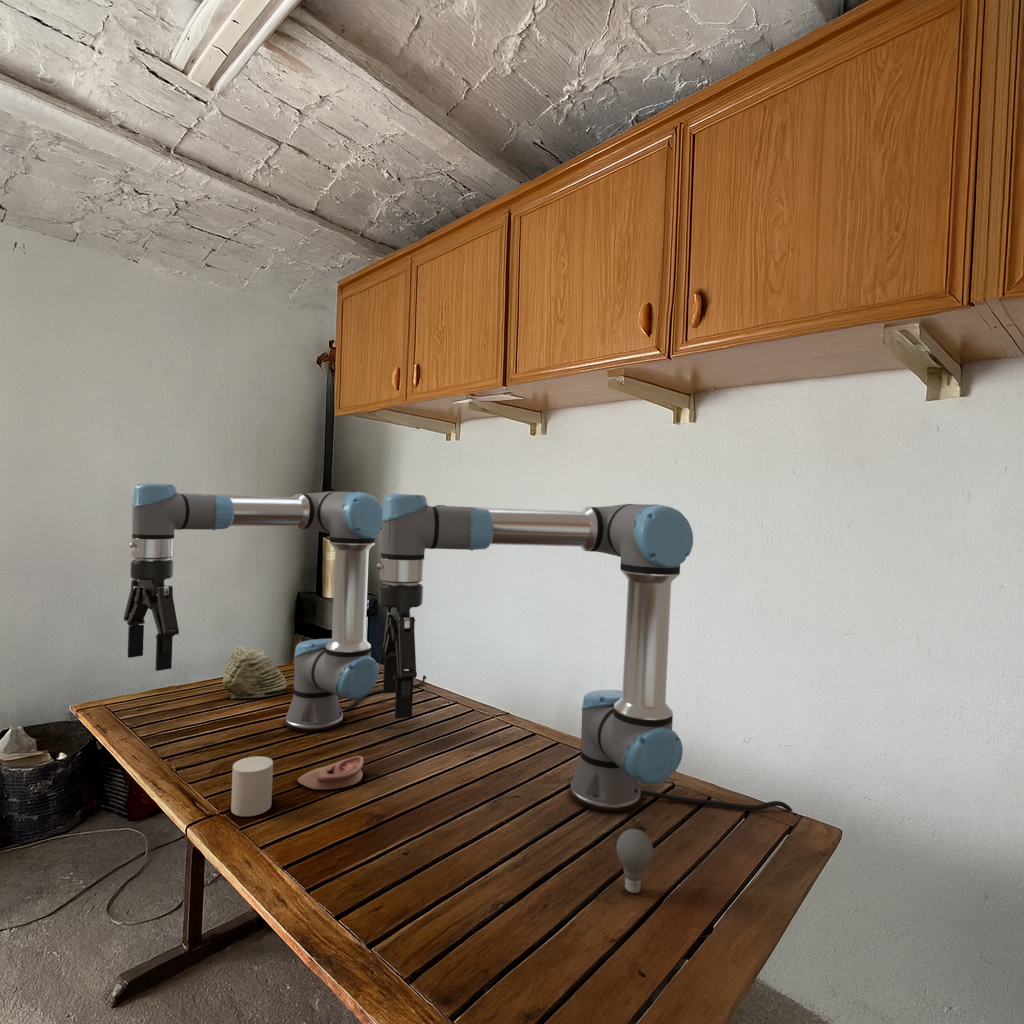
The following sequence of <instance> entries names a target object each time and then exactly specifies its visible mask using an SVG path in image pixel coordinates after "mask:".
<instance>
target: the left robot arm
mask: <svg viewBox="0 0 1024 1024" xmlns="http://www.w3.org/2000/svg"><path fill="white" fill-rule="evenodd" d="M131 508H132V511H131V512H132V515H131V518H132V519H131V520H132V522H131V523H132V524H131V529H132V530H131V534H132V535H131V543H129V545H128V547H129V548H130V549H131V554H130V555H131V558H133V559H132V560H131V561H130V573H129V574H130V578H131V582H130V590H129V591H130V592H129V595H128V599H127V603H126V607H125V610H124V615H123V621H124V622H126V624H127V626H128V629H127V630H128V631H127V658H128V659H131V658H139V657H143V656H144V639H145V638H144V635H145V633H144V632H145V625H144V624H146V621H145V617H146V615H147V612H148V611H149V610H151V613H152V616H153V620H154V623H155V626H156V630H157V634H156V635H155V637H154V638H155V639H156V641H155V669H154V670H155V671H156V672H160V671H166V670H171V669H172V667H173V666H172V664H173V663H172V661H173V638H174V637H175V636H177V635H179V633H180V630H179V629H180V628H179V624H178V618H177V613H176V607H175V606H176V605H175V601H174V588H173V585H166V584H165V580H168V579H171V578H172V577H173V575H174V561H173V560H172V558H173V557H174V556H175V530H176V531H181V530H194V531H195V530H201V531H202V530H208V531H209V530H213V531H216V530H225V529H229V528H230V527H234V526H235V527H236V526H237V527H238V526H239V527H243V526H245V527H250V526H251V527H252V526H256V527H259V526H261V527H263V526H265V527H266V526H268V527H269V526H274V527H275V526H276V527H277V526H279V527H280V526H281V527H284V526H285V527H290V526H291V527H293V528H294V529H296V530H308V531H309V530H310V531H316V532H319V533H325V534H329V544H330V545H331V546H332V547H333V548H334V550H335V552H334V555H335V556H334V577H333V599H332V600H333V601H332V602H333V603H332V627H331V628H332V629H331V638H317V639H308V640H304V641H300V642H299V643H297V645H296V646H295V650H294V655H293V657H294V672H293V673H294V674H293V695H292V696H293V697H292V699H291V702H290V704H289V708H288V711H287V713H286V715H285V726H286V728H287V729H289V730H291V731H294V732H295V731H296V732H301V733H316V732H325V731H329V730H332V729H335V728H337V727H339V726H340V725H342V723H343V722H344V713H343V710H349V709H351V708H353V707H354V706H355V705H356V704H357V703H358V702H359V701H360V700H362V699H365V698H367V697H368V696H371V695H375V694H379V693H383V688H381V689H378V690H372V689H374V687H375V685H376V683H377V682H378V678H379V674H380V670H379V669H380V668H379V665H378V662H377V661H376V660H375V659H374V657H372V656H371V655H372V653H371V652H372V644H371V643H370V642H369V641H368V640H367V639H366V631H367V607H368V606H367V605H368V604H367V603H368V583H369V581H368V579H369V555H370V550H371V548H372V547H374V545H376V537H377V536H378V535H380V534H381V529H382V521H381V519H382V515H383V505H382V503H381V502H380V501H379V500H378V498H377V497H375V495H373V494H370V493H367V492H363V491H362V492H361V491H337V490H336V491H335V490H333V491H332V490H331V491H321V492H311V493H296V494H294V495H293V496H276V495H275V496H274V495H273V496H271V495H245V494H244V495H243V494H242V495H241V494H216V493H215V494H214V493H213V494H211V493H183V492H181V493H180V492H178V491H177V488H176V486H175V485H174V484H170V483H151V482H150V483H148V482H141V483H140V482H139V483H137V484H136V485H135V486H134V488H133V495H132V502H131ZM425 680H427V676H426V675H425V674H424V675H422V680H421V681H420V682H419V683H416V684H415V683H414V684H413V688H416V687H420V686H422V685H423V684H424V683H425ZM371 690H372V691H371ZM339 698H341V699H344V700H348V701H349V700H350V701H353V702H352V703H351V704H349V705H346V706H345V705H341V702H340V699H339Z"/></svg>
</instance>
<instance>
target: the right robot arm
mask: <svg viewBox="0 0 1024 1024" xmlns="http://www.w3.org/2000/svg"><path fill="white" fill-rule="evenodd" d="M427 500H428V499H427V497H426V496H425V495H424V494H407V493H388V494H387V495H385V497H384V499H383V505H382V507H383V515H382V519H381V521H382V529H381V530H380V534H381V536H380V561H381V562H378V563H377V564H376V569H379V580H380V581H381V583H380V584H379V586H378V604H379V606H382V607H384V608H386V609H387V610H386V619H385V620H386V621H385V627H384V636H383V644H382V649H383V655H384V657H383V658H384V659H383V683H382V684H383V685H382V689H383V692H382V693H383V694H394V695H395V696H394V697H395V698H394V719H396V720H397V719H409V718H413V701H414V700H413V698H414V695H413V694H414V687H413V685H414V679H417V675H418V672H417V659H416V657H417V656H416V637H415V635H416V634H415V623H416V618H415V616H411V609H412V608H418V607H420V606H422V605H423V601H424V600H423V599H424V586H423V584H422V582H423V581H424V579H425V562H426V561H425V559H426V558H425V552H426V550H427V549H429V550H463V551H464V550H469V551H471V552H472V551H474V550H475V551H477V550H487V549H488V548H489V547H490V546H493V545H494V546H497V545H498V546H530V547H531V546H533V547H534V546H536V547H537V546H538V547H539V546H540V547H579V548H580V549H581V550H582V551H584V552H593V553H602V554H606V555H611V556H615V557H619V558H620V566H619V567H620V569H619V571H620V572H621V574H622V575H623V576H624V577H625V579H626V580H627V583H626V602H625V603H626V604H625V623H624V624H625V626H624V643H623V645H624V647H623V665H622V666H623V667H622V688H621V689H620V690H618V689H597V690H591V691H589V692H586V694H584V695H583V700H582V707H581V731H580V754H579V762H578V763H577V765H576V768H575V771H574V773H573V774H572V776H571V781H570V791H569V792H570V796H571V798H572V799H573V801H575V802H576V803H578V804H579V805H581V806H583V807H584V808H588V809H590V810H592V811H593V810H594V811H596V812H597V811H598V812H603V813H622V812H627V811H631V810H633V809H635V808H637V807H638V806H639V805H640V802H641V796H645V797H652V798H659V799H663V800H670V801H674V802H680V803H689V804H698V805H706V806H715V807H722V808H727V809H736V810H745V811H760V810H764V809H768V808H771V807H772V808H773V807H781V808H783V809H785V810H786V811H787V812H793V811H794V810H793V809H792V807H791V806H790V805H789V804H787V803H785V802H783V801H781V800H780V801H779V800H773V801H767V802H764V803H760V804H743V803H742V804H741V803H733V802H726V801H719V800H714V799H713V800H712V799H704V798H694V797H686V796H680V795H679V796H678V795H673V794H667V793H662V792H657V791H649V790H644V789H641V787H640V784H639V783H641V784H644V785H656V784H660V783H662V782H664V781H666V780H668V779H669V778H670V777H671V775H672V774H673V773H675V772H676V771H677V769H678V768H679V766H680V764H681V761H682V759H683V752H684V749H683V748H684V747H683V744H682V743H683V742H682V740H681V739H680V737H679V735H678V733H677V732H676V731H674V730H673V720H674V719H673V718H674V710H673V709H672V708H671V706H670V705H669V704H668V703H667V702H666V700H667V683H668V681H667V680H668V679H667V678H668V660H669V641H670V640H669V639H670V622H671V621H670V620H671V600H672V599H671V598H672V584H673V581H675V580H676V579H677V578H678V577H679V576H680V574H681V564H683V563H684V562H685V561H686V560H687V557H689V556H690V555H691V553H692V550H693V545H694V534H693V529H692V526H691V524H690V522H689V520H688V519H687V517H685V515H684V514H683V513H682V512H681V511H680V510H678V509H676V508H674V507H671V506H668V505H663V504H659V503H656V504H654V503H653V504H645V503H644V504H643V503H642V504H641V503H640V504H638V503H624V504H623V503H622V504H615V505H614V504H613V505H608V506H607V505H606V506H605V505H604V506H585V507H583V508H582V509H581V510H565V509H564V510H559V509H535V508H534V509H533V508H507V507H483V506H481V507H480V506H457V505H454V506H453V505H444V504H436V505H434V506H432V505H429V503H428V501H427ZM769 805H770V806H769Z"/></svg>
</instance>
